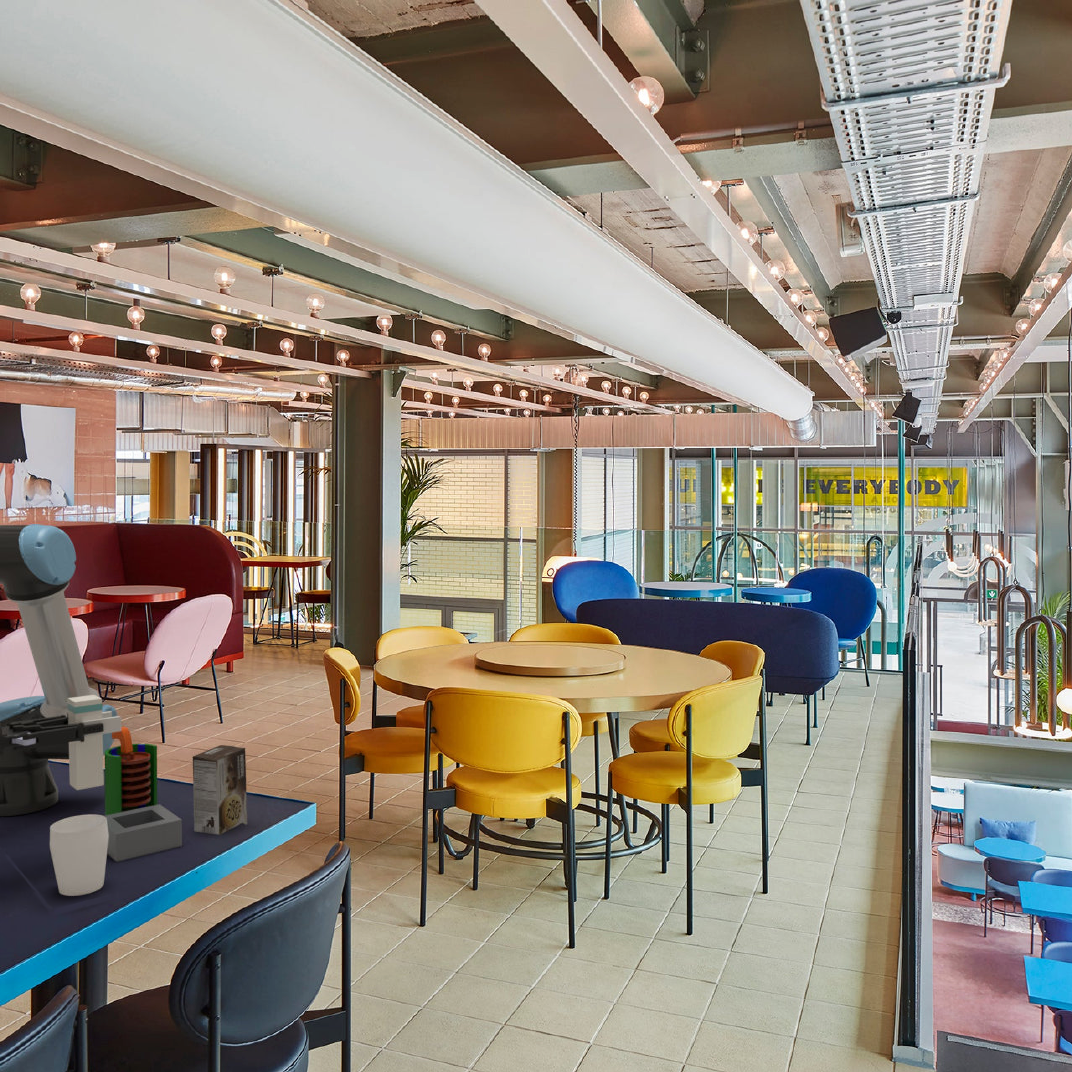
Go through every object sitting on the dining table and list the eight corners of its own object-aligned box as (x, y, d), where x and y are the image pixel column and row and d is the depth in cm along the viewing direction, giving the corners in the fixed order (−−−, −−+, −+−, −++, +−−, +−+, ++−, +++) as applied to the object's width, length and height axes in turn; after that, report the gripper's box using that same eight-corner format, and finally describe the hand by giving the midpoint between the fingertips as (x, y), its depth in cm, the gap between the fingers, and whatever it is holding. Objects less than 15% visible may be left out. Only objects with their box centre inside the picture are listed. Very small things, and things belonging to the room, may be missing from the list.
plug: (69, 784, 176) (67, 698, 176) (96, 779, 179) (94, 694, 179) (76, 790, 173) (74, 702, 172) (104, 785, 176) (102, 698, 175)
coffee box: (222, 821, 198) (220, 744, 198) (248, 824, 196) (247, 746, 195) (192, 836, 190) (190, 755, 189) (219, 840, 188) (218, 758, 187)
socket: (96, 848, 183) (95, 817, 183) (160, 833, 191) (159, 804, 191) (116, 867, 174) (115, 834, 174) (182, 850, 182) (181, 819, 182)
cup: (69, 909, 157) (65, 837, 156) (41, 895, 162) (38, 825, 161) (121, 889, 164) (118, 820, 163) (93, 877, 169) (90, 810, 168)
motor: (134, 835, 190) (131, 736, 189) (94, 832, 192) (91, 733, 191) (163, 818, 200) (161, 723, 199) (125, 816, 202) (123, 722, 201)
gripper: (-37, 753, 171) (101, 732, 186) (-15, 775, 157) (131, 750, 172) (-38, 711, 170) (101, 693, 186) (-17, 729, 157) (131, 708, 172)
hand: (115, 721), depth 179 cm, fingers closed on plug, 5 cm apart
